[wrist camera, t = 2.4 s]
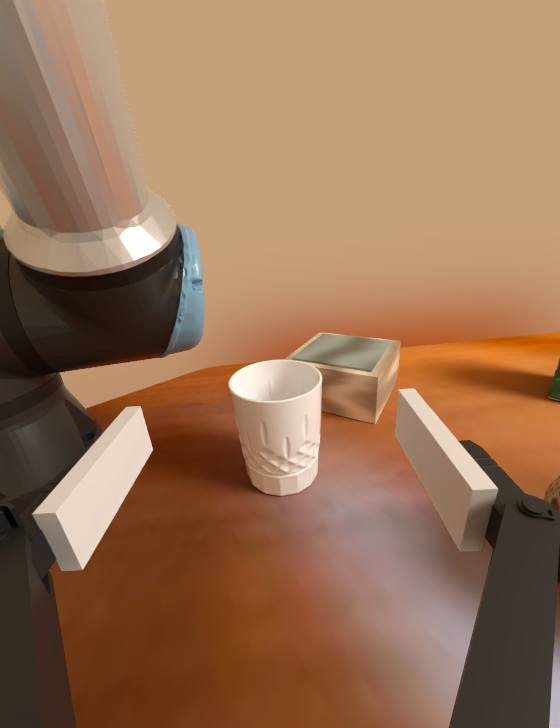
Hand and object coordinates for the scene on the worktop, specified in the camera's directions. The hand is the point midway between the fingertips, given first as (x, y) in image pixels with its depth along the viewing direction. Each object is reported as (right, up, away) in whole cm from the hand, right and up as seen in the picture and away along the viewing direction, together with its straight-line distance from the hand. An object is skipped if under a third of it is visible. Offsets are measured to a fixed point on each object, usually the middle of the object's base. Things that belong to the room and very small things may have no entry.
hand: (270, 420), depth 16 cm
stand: (+9, -1, +28) cm, 29 cm away
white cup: (+1, -8, +15) cm, 16 cm away
